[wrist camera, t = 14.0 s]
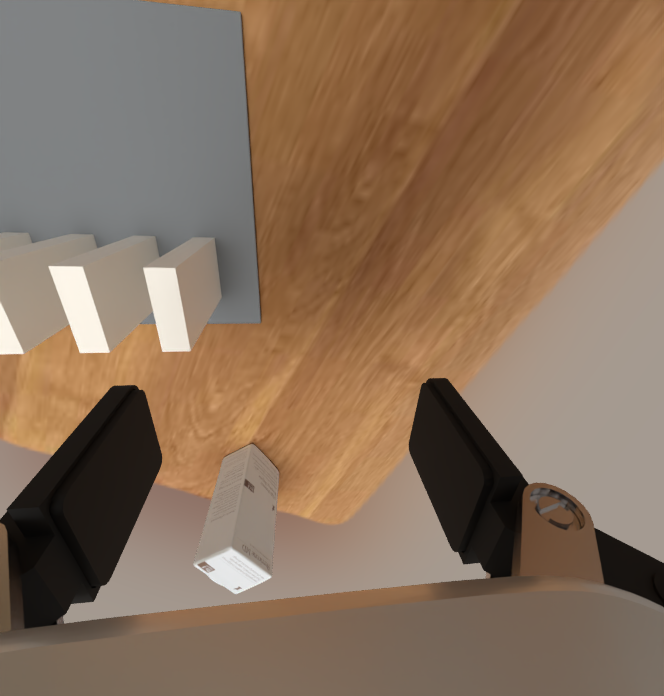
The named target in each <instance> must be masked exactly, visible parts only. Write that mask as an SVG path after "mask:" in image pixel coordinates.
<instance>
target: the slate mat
mask: <svg viewBox="0 0 664 696" xmlns="http://www.w3.org/2000/svg"><path fill="white" fill-rule="evenodd" d="M3 232H15V233H29V235H30V238H31V241H32V243H36V242H40V241H44V240H48V239H52V238H56V237H60V236H64V235H68V234H93V235H94V239H95V242H96V246H97V248H100V247H103V246H106V245H108V244H111V243H114V242H117V241H120V240H122V239H125V238H128V237H131V236H155V237H156V242H157V247H158V252H159V257H161V256H163V255H165V254H166V253H168V252H170V251H171V250H173V249H175V248H176V247H178V246H180V245H181V244H183V243H185V242H186V241H188V240H190V239H191V238H193V237H208V238H215V246H216V254H217V262H218V270H219V278H220V286H221V295H222V298H221V299H220V301H219V303H218V305H217V306H216V308H215V310H214V312H213V313H212V315H211V317H210V319H209V320H208V322H207V324H226V323H261V313H260V297H259V282H258V266H257V251H256V236H255V220H254V205H253V189H252V174H251V158H250V143H249V128H248V112H247V97H246V81H245V66H244V50H243V35H242V20H241V12H238V11H229V10H220V9H211V8H202V7H193V6H184V5H175V4H166V3H157V2H148V1H139V0H0V233H3ZM140 324H156V321H155V317H154V313H153V312H152V313H150V314H149V315H148V316H147V317H146V318H145V319H144V320H143V321H142V322H141V323H140Z"/></svg>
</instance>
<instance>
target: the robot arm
mask: <svg viewBox="0 0 664 696" xmlns="http://www.w3.org/2000/svg"><path fill="white" fill-rule="evenodd" d="M409 451H410V454H411V457H412V459H413V461H414V464H415V466H416V468H417V470H418V473H419V475H420V477H421V479H422V482H423V484H424V487H425V489H426V491H427V493H428V496H429V498H430V500H431V503H432V505H433V507H434V509H435V512H436V514H437V516H438V519H439V521H440V523H441V526H442V528H443V530H444V532H445V535H446V537H447V539H448V542H449V544H450V546H451V548H452V550H453V551H454V552H458V553H459V555H460V557H461V559H462V562H463V564H472V563H480V564H481V565H482V568H483V570H484V571H486V579H475V580H462V581H451V582H441V583H432V584H421V585H411V586H401V587H393V588H382V589H372V590H362V591H352V592H343V593H333V594H324V595H314V596H305V597H296V598H286V599H277V600H268V601H259V602H250V603H240V604H231V605H221V606H212V607H203V608H195V609H186V610H177V611H168V612H160V613H151V614H141V615H132V616H123V617H114V618H106V619H97V620H90V621H82V622H74V623H67V624H64V621H63V615H65V614H66V613H67V611H68V609H69V607H70V605H71V604H74V603H85V602H93V601H94V600H95V598H96V596H97V593H98V591H99V589H100V587H101V586H102V585H106V584H107V582H109V580H110V578H111V576H112V574H113V572H114V570H115V567H116V565H117V563H118V561H119V559H120V556H121V554H122V552H123V550H124V547H125V545H126V543H127V541H128V539H129V536H130V534H131V532H132V529H133V527H134V525H135V523H136V521H137V518H138V516H139V514H140V512H141V509H142V507H143V505H144V503H145V501H146V498H147V496H148V494H149V492H150V489H151V487H152V485H153V483H154V481H155V478H156V476H157V474H158V472H159V470H160V467H161V464H162V453H161V450H160V446H159V442H158V439H157V435H156V431H155V428H154V424H153V420H152V417H151V413H150V409H149V406H148V402H147V398H146V395H145V392H144V391H143V390H139V389H138V387H137V386H135V385H125V386H113V387H111V388H110V389H109V390H108V392H107V393H106V394H105V395H104V396H103V397H102V399H101V400H100V401H99V402H98V403H97V405H96V406H95V407H94V408H93V409H92V410H91V412H90V413H89V414H88V415H87V416H86V417H85V419H84V420H83V421H82V422H81V423H80V424H79V426H78V427H77V428H76V429H75V430H74V431H73V433H72V434H71V435H70V436H69V437H68V438H67V440H66V441H65V442H64V443H63V444H62V445H61V447H60V448H59V449H58V450H57V451H56V452H55V454H54V455H53V456H52V457H51V458H50V460H49V461H48V462H47V463H46V464H45V465H44V466H43V468H42V469H41V470H40V471H39V472H38V473H37V475H36V476H35V477H34V478H33V479H32V480H31V482H30V483H29V484H28V485H27V486H26V487H25V489H24V490H23V491H22V492H21V493H20V494H19V496H18V497H17V498H16V499H15V501H14V502H13V503H12V504H11V505H10V506H9V507H8V508H7V512H6V513H5V515H4V516H3V517H2V518H1V519H0V696H664V563H662V562H660V561H658V560H656V559H655V558H653V557H651V556H649V555H647V554H645V553H643V552H641V551H639V550H637V549H635V548H633V547H631V546H629V545H627V544H625V543H623V542H621V541H619V540H617V539H615V538H613V537H611V536H609V535H607V534H606V533H604V532H602V531H600V530H598V529H596V528H594V524H593V521H592V519H591V516H590V514H589V512H588V511H587V510H586V509H585V507H584V506H583V505H582V504H581V503H580V502H579V501H578V500H577V499H576V498H575V497H573V496H571V495H570V494H569V493H567V492H566V491H564V490H562V489H560V488H558V487H556V486H553V485H549V484H546V483H533V484H528V483H527V481H526V480H525V479H524V478H523V476H522V474H521V473H520V471H519V470H518V469H517V467H516V466H515V465H514V464H513V462H512V461H511V460H510V459H509V457H508V456H507V455H506V453H505V452H504V451H503V450H502V448H501V447H500V446H499V444H498V443H497V442H496V441H495V439H494V438H493V437H492V435H491V434H490V433H489V432H488V430H487V429H486V428H485V426H484V425H483V424H482V423H481V421H480V420H479V419H478V418H477V416H476V415H475V414H474V412H473V411H472V410H471V409H470V407H469V406H468V405H467V404H466V402H465V401H464V400H463V399H462V397H461V396H460V394H459V393H458V392H457V391H456V389H455V388H454V387H453V386H452V384H451V383H450V382H449V380H448V379H446V378H430V379H428V380H427V382H426V383H423V384H422V386H421V389H420V394H419V399H418V403H417V408H416V412H415V417H414V422H413V426H412V431H411V436H410V440H409Z"/></svg>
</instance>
